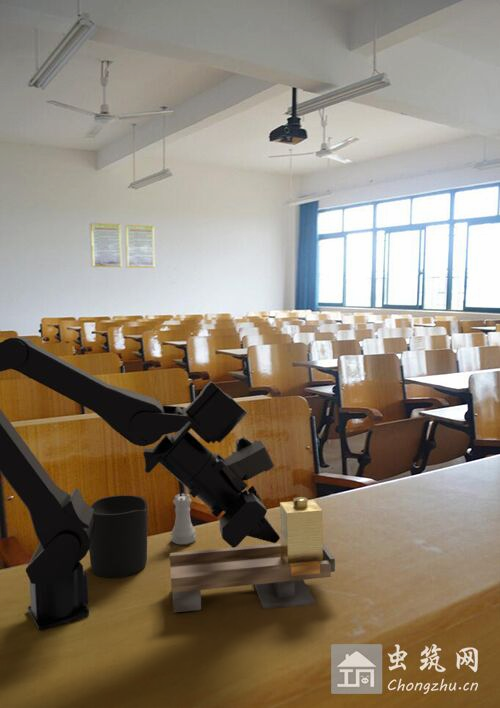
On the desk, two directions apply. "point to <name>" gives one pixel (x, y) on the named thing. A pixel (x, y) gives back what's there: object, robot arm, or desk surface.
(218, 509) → the robot arm
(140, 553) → the pen holder
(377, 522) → the desk surface
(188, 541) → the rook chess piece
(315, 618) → the desk surface
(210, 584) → the balance beam
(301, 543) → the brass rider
